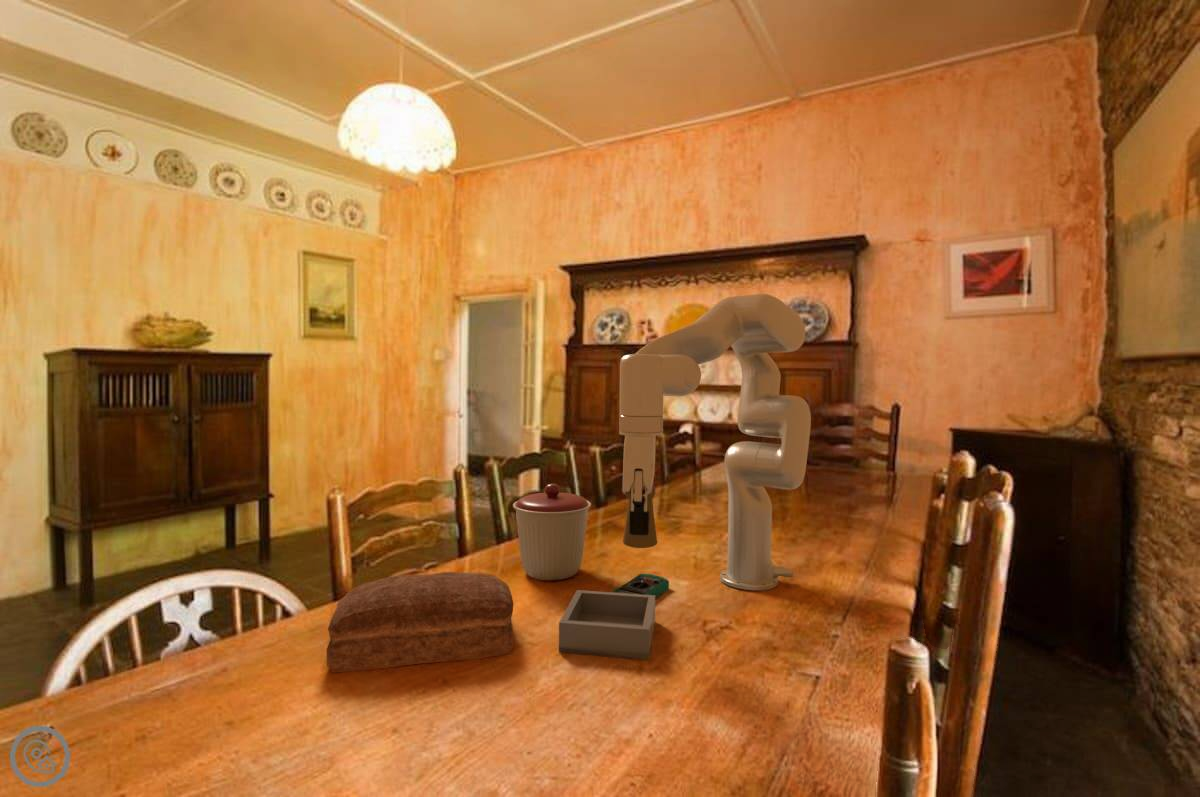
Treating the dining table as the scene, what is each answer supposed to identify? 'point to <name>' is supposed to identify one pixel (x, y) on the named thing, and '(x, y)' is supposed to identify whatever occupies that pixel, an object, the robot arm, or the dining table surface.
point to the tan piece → (651, 538)
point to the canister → (551, 533)
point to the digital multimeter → (645, 585)
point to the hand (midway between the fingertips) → (639, 530)
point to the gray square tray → (608, 625)
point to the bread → (420, 621)
